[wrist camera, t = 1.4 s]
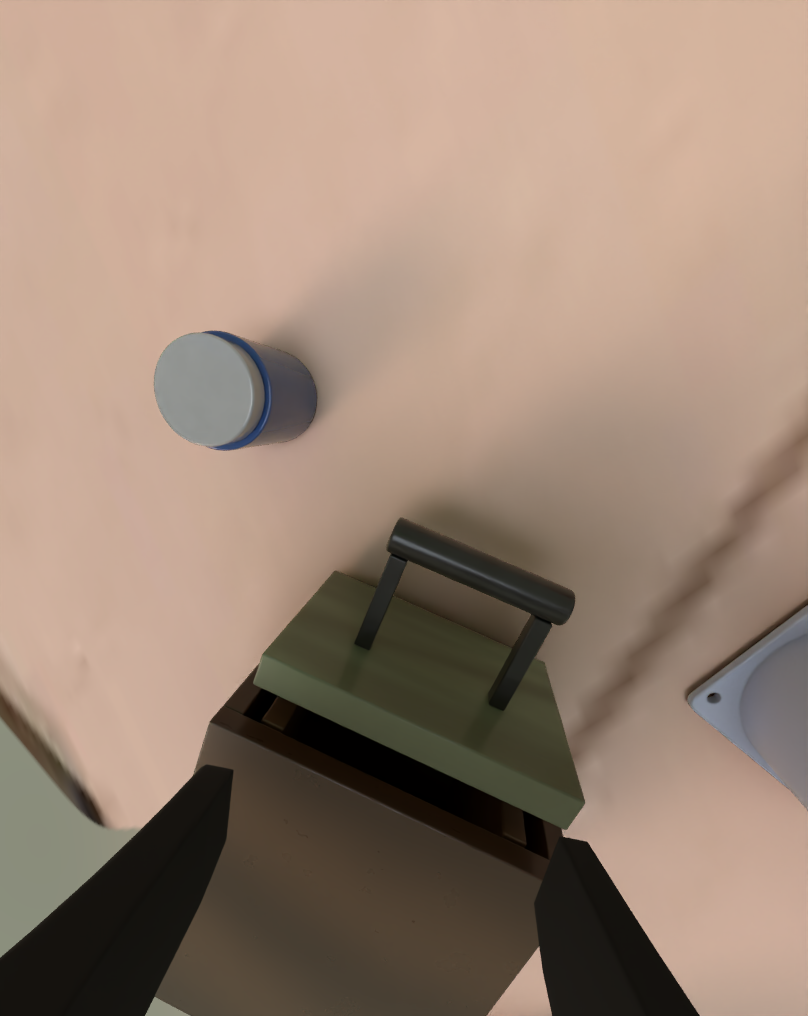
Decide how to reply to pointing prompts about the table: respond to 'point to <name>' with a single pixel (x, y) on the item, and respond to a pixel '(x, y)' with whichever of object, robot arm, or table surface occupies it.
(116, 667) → the table surface
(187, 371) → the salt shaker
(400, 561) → the drawer
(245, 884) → the cabinet
